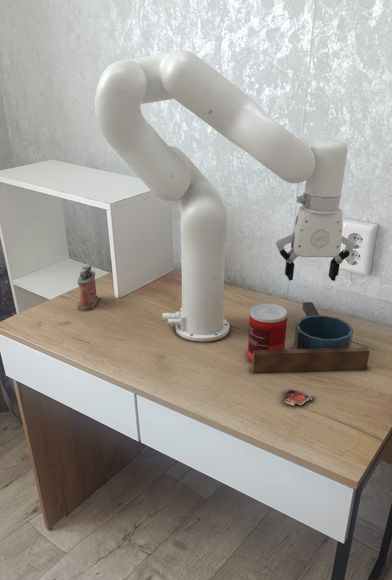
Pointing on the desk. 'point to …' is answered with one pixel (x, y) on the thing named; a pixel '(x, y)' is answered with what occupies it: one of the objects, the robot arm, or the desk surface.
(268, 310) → the canned food
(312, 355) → the wooden board
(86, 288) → the lighter
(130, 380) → the desk surface
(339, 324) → the saucepan
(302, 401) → the mottled red brown piece
